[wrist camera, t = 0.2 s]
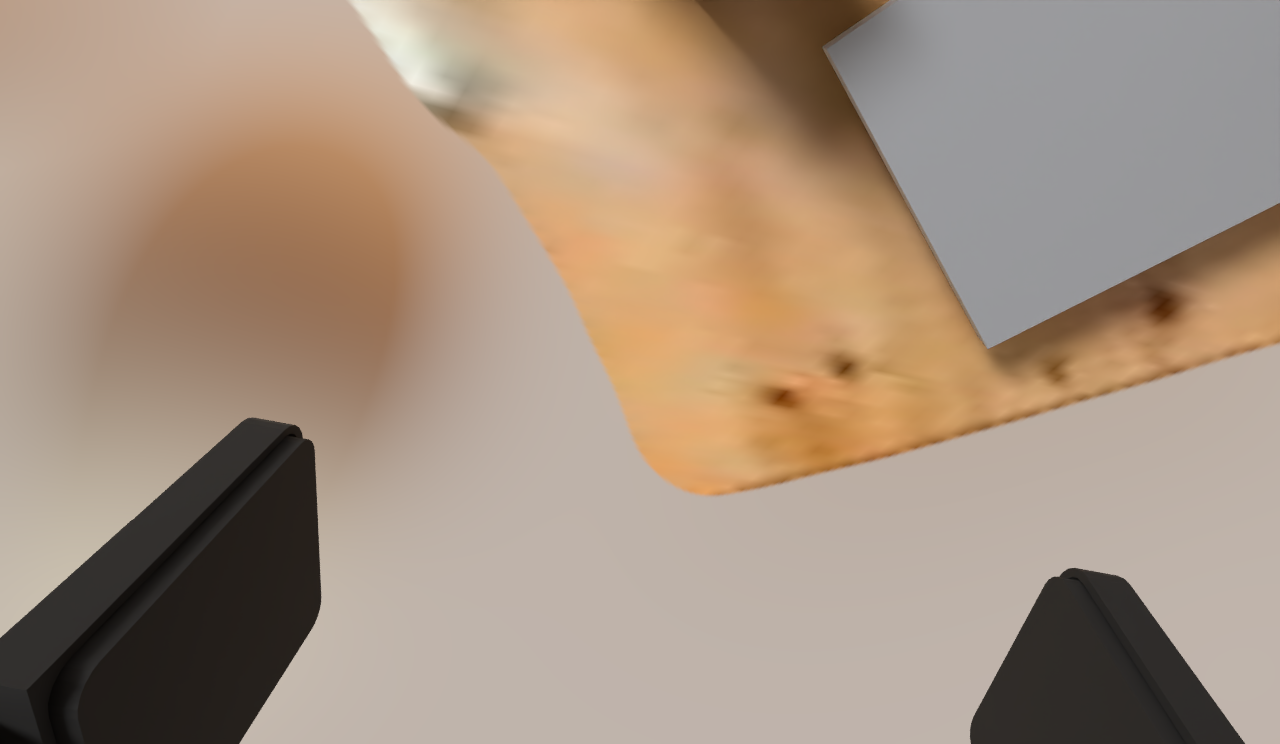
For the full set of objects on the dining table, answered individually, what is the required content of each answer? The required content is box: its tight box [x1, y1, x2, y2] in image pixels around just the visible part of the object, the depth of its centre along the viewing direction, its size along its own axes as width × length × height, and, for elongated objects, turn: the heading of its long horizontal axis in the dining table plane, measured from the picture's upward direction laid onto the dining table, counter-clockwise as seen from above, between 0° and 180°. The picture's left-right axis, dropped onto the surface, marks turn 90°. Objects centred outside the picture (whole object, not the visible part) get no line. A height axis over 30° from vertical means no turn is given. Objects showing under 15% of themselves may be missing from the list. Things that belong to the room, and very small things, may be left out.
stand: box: [822, 0, 1280, 349], centre depth 32 cm, size 16×16×4 cm
